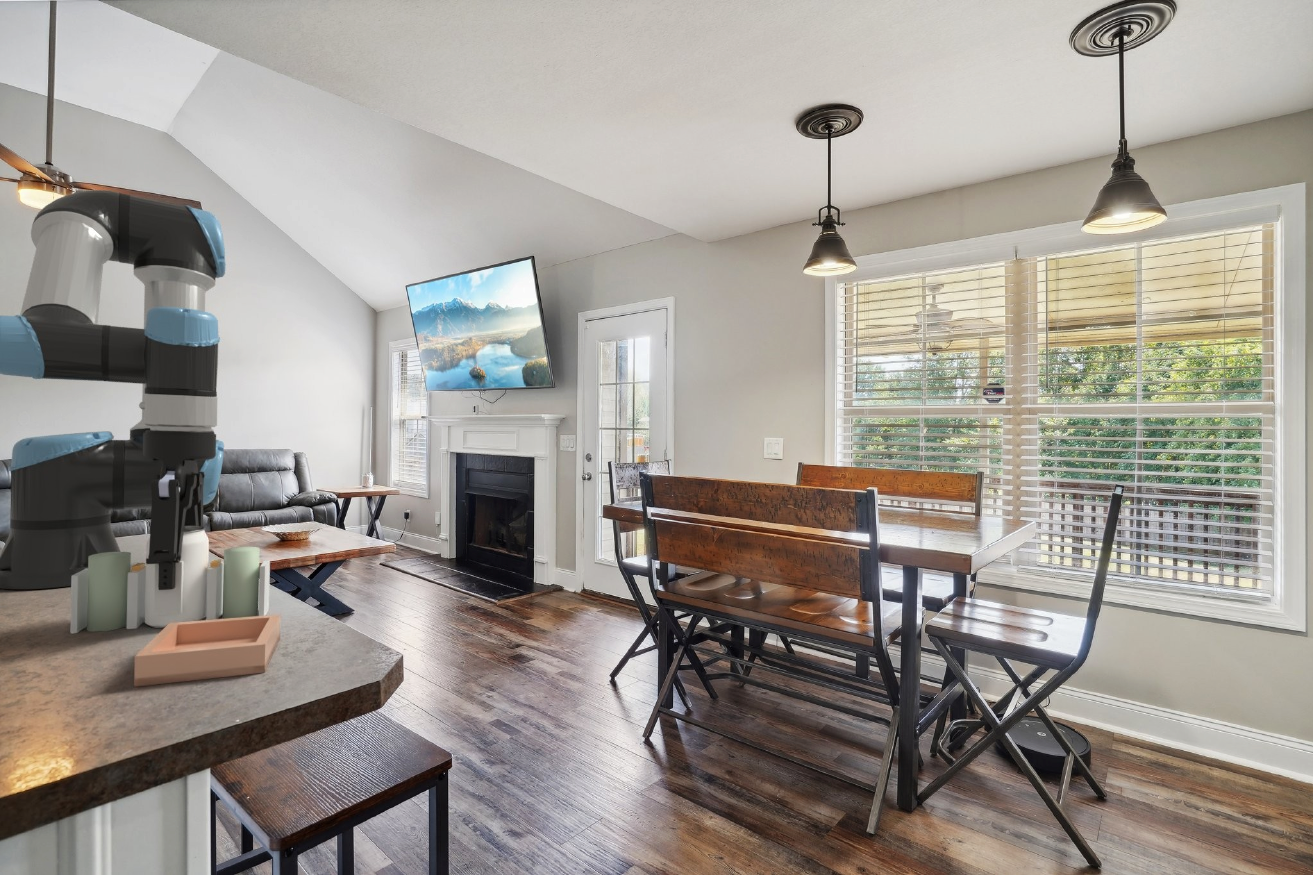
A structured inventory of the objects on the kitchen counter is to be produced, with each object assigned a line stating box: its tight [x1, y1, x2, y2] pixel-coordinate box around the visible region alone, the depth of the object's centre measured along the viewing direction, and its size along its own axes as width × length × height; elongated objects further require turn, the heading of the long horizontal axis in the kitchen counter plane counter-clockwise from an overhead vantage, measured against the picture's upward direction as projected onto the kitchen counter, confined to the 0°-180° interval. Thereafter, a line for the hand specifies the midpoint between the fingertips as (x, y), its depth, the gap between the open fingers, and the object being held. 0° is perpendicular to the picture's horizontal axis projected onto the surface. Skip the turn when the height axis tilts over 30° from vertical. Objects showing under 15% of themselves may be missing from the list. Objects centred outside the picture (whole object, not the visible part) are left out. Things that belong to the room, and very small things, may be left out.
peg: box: [86, 551, 132, 632], centre depth 78 cm, size 4×4×9 cm
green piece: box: [221, 546, 261, 619], centre depth 84 cm, size 4×4×9 cm
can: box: [144, 526, 210, 629], centre depth 81 cm, size 6×6×12 cm
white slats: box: [69, 558, 271, 634], centre depth 81 cm, size 4×20×8 cm, turn 114°
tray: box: [133, 613, 282, 688], centre depth 69 cm, size 11×11×3 cm
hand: (177, 605), depth 81 cm, fingers closed on can, 6 cm apart
